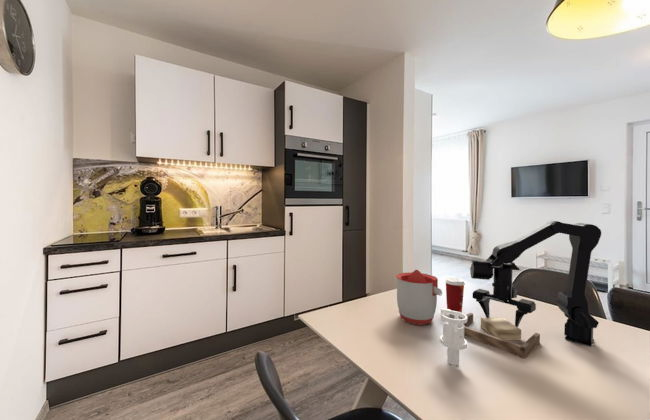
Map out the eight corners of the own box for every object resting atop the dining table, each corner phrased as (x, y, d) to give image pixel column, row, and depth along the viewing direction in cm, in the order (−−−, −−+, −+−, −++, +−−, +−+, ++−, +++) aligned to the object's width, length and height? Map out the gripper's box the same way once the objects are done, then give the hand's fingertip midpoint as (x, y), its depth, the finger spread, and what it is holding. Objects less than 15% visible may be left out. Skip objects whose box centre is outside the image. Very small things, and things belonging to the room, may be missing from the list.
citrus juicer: (435, 333, 97) (436, 277, 97) (389, 320, 108) (390, 270, 107) (446, 319, 110) (447, 269, 109) (404, 308, 120) (404, 263, 120)
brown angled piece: (539, 342, 91) (539, 333, 91) (524, 358, 82) (524, 348, 81) (470, 320, 109) (470, 312, 108) (450, 331, 99) (451, 322, 99)
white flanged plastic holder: (443, 352, 84) (444, 304, 84) (469, 361, 80) (470, 310, 80) (436, 363, 79) (437, 311, 79) (463, 372, 75) (464, 318, 74)
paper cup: (468, 316, 113) (468, 282, 112) (449, 315, 113) (449, 282, 112) (459, 308, 120) (459, 277, 120) (441, 308, 121) (441, 277, 120)
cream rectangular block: (521, 341, 93) (521, 329, 93) (497, 341, 93) (498, 329, 93) (501, 327, 103) (501, 317, 103) (480, 328, 103) (480, 317, 103)
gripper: (541, 282, 97) (540, 326, 98) (484, 272, 112) (483, 310, 112) (531, 288, 90) (529, 335, 91) (472, 276, 105) (471, 316, 105)
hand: (501, 323), depth 100 cm, fingers open, 9 cm apart
